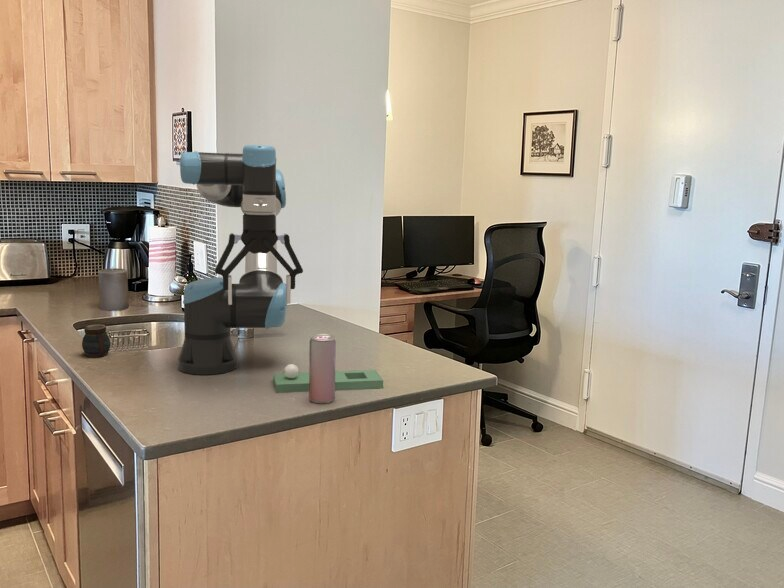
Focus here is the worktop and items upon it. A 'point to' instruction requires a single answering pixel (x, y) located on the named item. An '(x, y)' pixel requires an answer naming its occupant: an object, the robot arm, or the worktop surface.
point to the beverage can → (322, 368)
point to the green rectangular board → (342, 381)
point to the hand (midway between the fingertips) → (259, 303)
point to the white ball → (291, 371)
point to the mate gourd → (95, 340)
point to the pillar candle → (113, 289)
